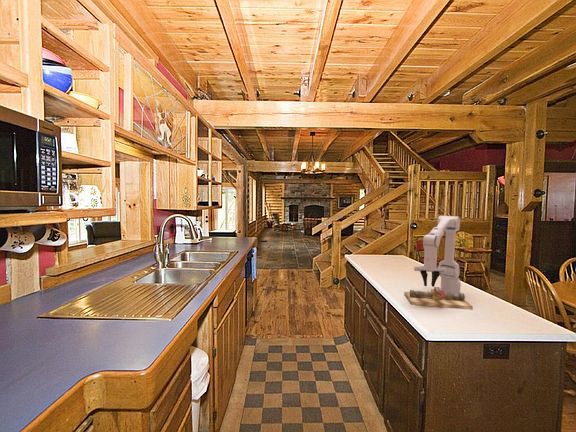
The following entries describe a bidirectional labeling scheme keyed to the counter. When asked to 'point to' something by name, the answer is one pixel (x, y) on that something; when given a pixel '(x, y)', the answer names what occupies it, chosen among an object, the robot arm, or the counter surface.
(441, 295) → the valve lever
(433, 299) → the valve board
